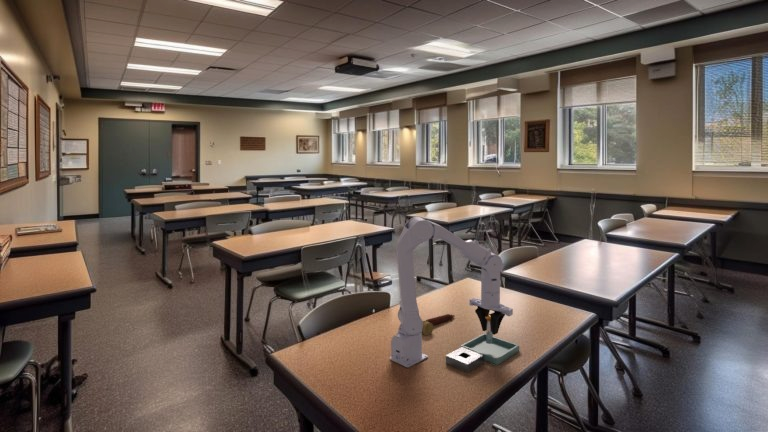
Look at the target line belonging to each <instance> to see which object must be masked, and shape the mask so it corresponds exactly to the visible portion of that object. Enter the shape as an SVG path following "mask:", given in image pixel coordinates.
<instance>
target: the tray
mask: <svg viewBox="0 0 768 432" xmlns="http://www.w3.org/2000/svg"><path fill="white" fill-rule="evenodd" d="M461 347H463V348H466V349H468V350H471V351H474V352H476V353H479V354H482V355H484V362H486V363H489V364H492V365H494V366H495V367H496V366H498V365H500V364H502V363H503V362H505V361H506V360H508V359H510V357H513V356H514V355H516V354H518V353H519V352H520V344H516V343H514V342H511V341H508V340H505V339H502V338H499V337H496V336H493V338H492V344H488V343H486V332H485V333H482V334H480V335H478V336H476V337H474V338H472V339H471V340H468V341H467V342H465V343H463V344H461V345H460V347H459V348H461Z"/></svg>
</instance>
